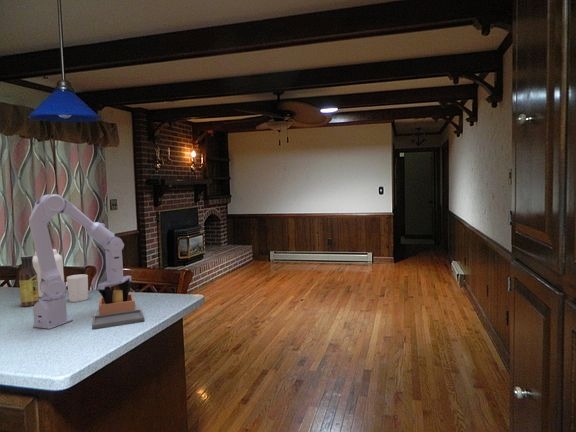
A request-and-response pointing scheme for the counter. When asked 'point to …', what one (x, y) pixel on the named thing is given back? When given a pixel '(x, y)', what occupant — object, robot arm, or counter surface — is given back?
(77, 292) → the white cup
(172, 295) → the counter surface
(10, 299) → the counter surface
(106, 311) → the orange open box
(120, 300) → the cylinder
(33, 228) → the robot arm
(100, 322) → the tray
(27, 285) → the sauce bottle
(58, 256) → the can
